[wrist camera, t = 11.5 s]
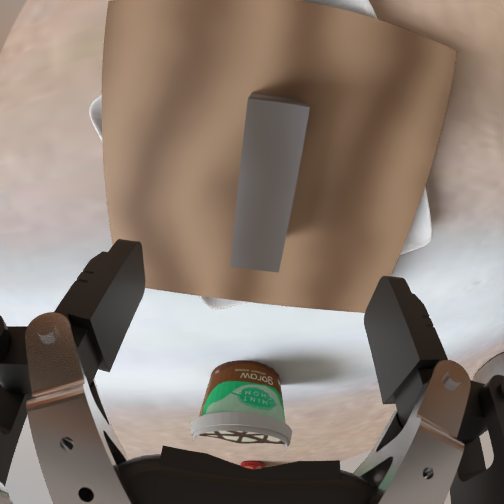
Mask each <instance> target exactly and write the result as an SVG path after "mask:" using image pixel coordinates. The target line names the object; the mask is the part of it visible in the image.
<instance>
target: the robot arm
mask: <svg viewBox="0 0 504 504" xmlns="http://www.w3.org/2000/svg"><path fill="white" fill-rule="evenodd" d="M144 290H145V270H144V261H143V250H142V244H141V242H138V241H131V240H124V239H118V240H117V241H116V242H115V243H114V245H113V246H112V247H111V249H110V250H109V252H101V253H100V254H98V255H97V256H95V257H94V258H93V259H91V260H90V261H89V263H88V264H87V265H86V267H85V268H84V270H83V272H81V274H80V275H79V276H78V278H77V281H75V282H74V283H73V285H72V286H71V288H70V289H69V291H68V292H67V294H66V295H65V297H64V298H63V299H62V301H61V302H60V304H59V305H58V307H57V308H56V310H55V311H54V312H49V313H44V314H41V315H39V316H37V317H36V318H35V319H33V320H32V321H31V322H30V324H29V325H28V326H27V327H7V326H6V324H5V322H4V320H3V318H2V317H1V316H0V504H13V502H12V500H11V499H10V498H9V494H8V492H7V490H6V488H5V483H6V480H7V476H8V472H9V469H10V465H11V462H12V458H13V455H14V452H15V449H16V446H17V442H18V439H19V436H20V433H21V431H22V428H23V425H24V422H25V419H26V417H27V414H28V419H29V424H30V428H31V433H32V437H33V441H34V445H35V449H36V452H37V456H38V459H39V463H40V466H41V469H42V473H43V476H44V479H45V482H46V485H47V487H48V490H49V493H50V496H51V498H52V501H53V504H444V501H445V499H446V497H447V494H448V492H449V490H450V495H451V504H504V353H502V354H500V355H498V356H496V357H494V358H493V359H491V360H490V361H489V362H487V363H486V364H485V365H484V366H483V367H482V368H481V369H480V370H479V371H478V372H477V373H476V375H475V376H474V379H473V381H472V380H470V378H469V375H468V374H467V372H466V370H465V369H464V368H463V367H462V366H461V365H459V364H458V363H456V362H454V361H451V360H448V359H447V356H446V354H445V351H444V349H443V346H442V344H441V342H440V339H439V337H438V335H437V332H436V330H435V328H434V327H433V323H432V321H431V319H430V318H429V314H428V312H427V310H426V308H425V306H424V304H423V303H422V302H421V301H420V300H419V299H418V297H417V296H416V295H415V294H412V293H411V291H410V288H409V286H408V284H407V282H406V280H405V279H404V278H399V277H391V276H382V277H381V279H380V280H379V282H378V285H377V287H376V289H375V291H374V293H373V295H372V298H371V300H370V302H369V304H368V306H367V308H366V311H365V316H364V325H365V329H366V333H367V337H368V341H369V345H370V349H371V353H372V357H373V361H374V365H375V370H376V374H377V378H378V383H379V388H380V392H381V397H382V402H383V404H396V407H397V409H396V410H395V411H394V413H393V414H392V416H391V418H390V419H389V421H388V423H387V425H386V427H385V429H384V430H383V432H382V434H381V436H380V437H379V439H378V441H377V443H376V444H375V446H374V448H373V449H372V451H371V453H370V454H369V455H368V457H367V458H366V459H365V461H364V462H363V463H362V464H361V465H360V466H359V467H358V468H357V469H356V470H355V472H354V473H353V474H352V473H349V472H346V471H343V470H340V460H338V461H297V462H292V463H288V464H283V465H278V466H272V467H266V468H260V469H249V468H246V467H243V466H240V465H237V464H234V463H231V462H228V461H225V460H222V459H220V458H217V457H214V456H212V455H209V454H206V453H200V452H194V451H188V450H182V449H177V448H172V447H168V446H163V448H162V453H161V454H154V455H146V456H141V457H137V458H133V459H130V460H129V459H128V457H127V455H126V453H125V451H124V449H123V447H122V445H121V443H120V441H119V439H118V438H117V436H116V434H115V432H114V430H113V427H112V425H111V422H110V420H109V417H108V415H107V412H106V410H105V407H104V404H103V402H102V399H101V396H100V393H99V391H98V388H97V385H96V382H95V379H94V377H95V375H96V372H97V370H98V369H99V370H103V371H107V372H110V370H111V368H112V365H113V363H114V360H115V358H116V355H117V353H118V351H119V348H120V346H121V344H122V341H123V339H124V337H125V334H126V332H127V330H128V328H129V325H130V323H131V321H132V319H133V316H134V314H135V312H136V310H137V308H138V305H139V303H140V301H141V299H142V297H143V294H144ZM487 430H488V431H489V435H490V439H491V444H492V447H493V452H494V460H493V463H492V465H491V466H490V467H489V468H488V469H487V470H486V467H485V461H484V456H483V451H482V447H481V443H480V438H479V436H480V435H482V434H483V433H484V432H485V431H487Z"/></svg>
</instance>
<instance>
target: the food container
mask: <svg viewBox="0 0 504 504" xmlns="http://www.w3.org/2000/svg"><path fill="white" fill-rule="evenodd" d="M198 435H200V436H209V437H215V438H220V439H224V440H228V441H231V442H236V443H274V444H285V449H286V450H287V447H288V446H289V444H290V440H291V435H292V430H291V428H290V427H289V426H288V425H287V424H285V416H284V408H283V400H282V393H281V385H280V379H279V375H278V374H277V373H276V372H275V371H274V370H273V369H272V368H270V367H268V366H266V365H264V364H261V363H258V362H253V361H232V362H227V363H224V364H222V365H220V366H218V367H217V368H215V369H214V370H213V372H212V374H211V377H210V381H209V384H208V388H207V391H206V394H205V398H204V401H203V405H202V408H201V411H200V415H199V417H198V418H196V419H194V420H193V421H192V423H191V436H193V441H194V438H195V437H196V436H198Z"/></svg>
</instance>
